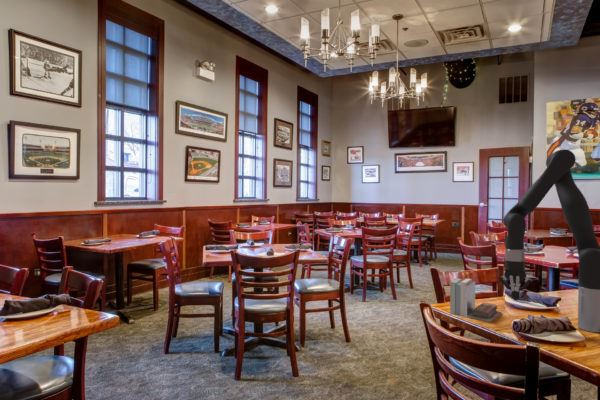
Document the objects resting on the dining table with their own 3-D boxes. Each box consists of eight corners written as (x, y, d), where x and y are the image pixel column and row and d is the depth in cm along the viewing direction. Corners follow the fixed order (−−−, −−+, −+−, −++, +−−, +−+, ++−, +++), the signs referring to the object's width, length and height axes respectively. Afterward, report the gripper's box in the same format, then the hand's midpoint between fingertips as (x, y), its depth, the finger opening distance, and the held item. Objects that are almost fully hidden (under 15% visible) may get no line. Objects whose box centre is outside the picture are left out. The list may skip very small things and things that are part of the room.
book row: (471, 310, 194) (471, 279, 194) (465, 315, 186) (465, 282, 186) (456, 308, 198) (456, 277, 198) (450, 313, 190) (450, 280, 190)
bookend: (475, 311, 195) (475, 281, 195) (467, 318, 184) (467, 286, 184) (458, 308, 200) (458, 279, 200) (449, 315, 189) (450, 284, 188)
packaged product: (478, 300, 198) (501, 304, 191) (478, 310, 198) (501, 314, 191) (466, 308, 184) (490, 312, 177) (466, 319, 184) (490, 323, 177)
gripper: (533, 259, 177) (534, 299, 177) (499, 257, 184) (500, 296, 184) (531, 261, 171) (532, 303, 170) (496, 259, 178) (497, 299, 178)
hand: (515, 299), depth 177 cm, fingers closed
